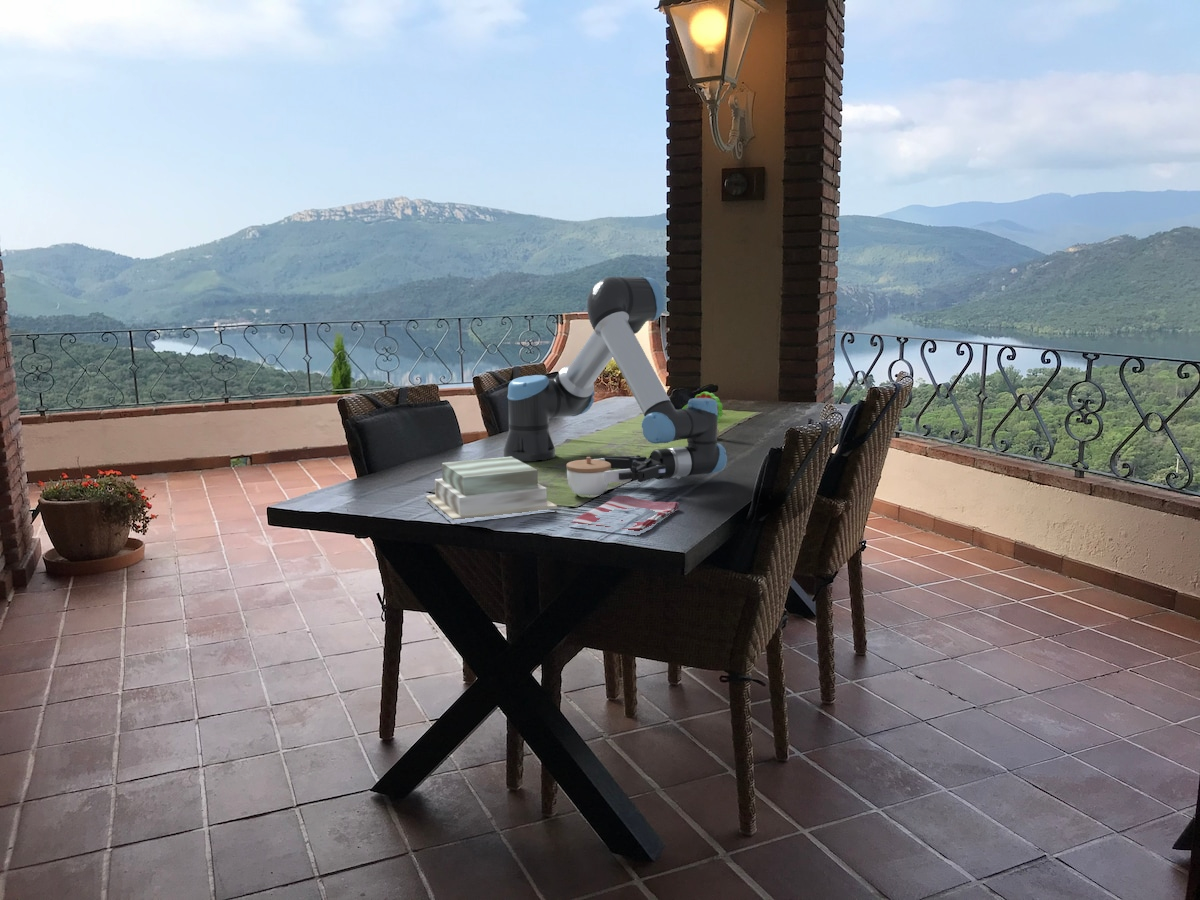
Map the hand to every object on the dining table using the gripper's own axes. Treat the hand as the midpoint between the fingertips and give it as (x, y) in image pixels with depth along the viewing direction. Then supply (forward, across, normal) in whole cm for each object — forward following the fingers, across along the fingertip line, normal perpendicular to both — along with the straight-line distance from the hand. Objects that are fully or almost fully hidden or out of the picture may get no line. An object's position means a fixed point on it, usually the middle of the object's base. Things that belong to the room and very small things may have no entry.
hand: (592, 471), depth 211 cm
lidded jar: (+1, 0, -6) cm, 6 cm away
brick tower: (+26, +1, -6) cm, 26 cm away
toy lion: (-66, +55, -6) cm, 86 cm away
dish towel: (+2, -22, -7) cm, 23 cm away
